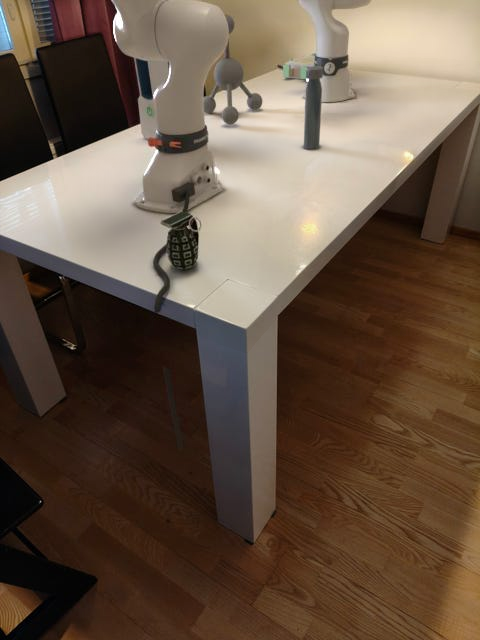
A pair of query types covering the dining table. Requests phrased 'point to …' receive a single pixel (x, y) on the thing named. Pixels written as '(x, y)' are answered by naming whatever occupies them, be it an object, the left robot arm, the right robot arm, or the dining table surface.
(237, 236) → the dining table surface
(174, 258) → the grenade
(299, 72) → the decorative block
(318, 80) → the bottle
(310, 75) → the cap
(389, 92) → the dining table surface
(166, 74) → the electronic device
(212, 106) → the molecular model
